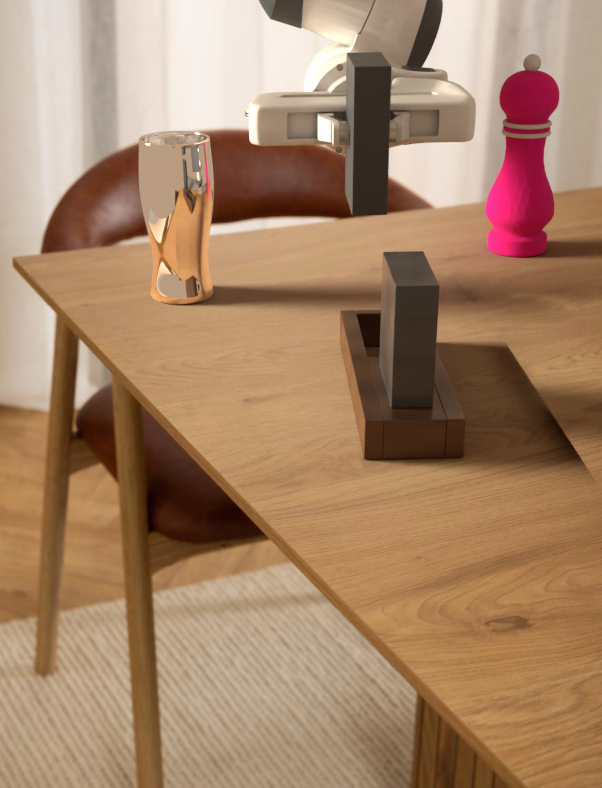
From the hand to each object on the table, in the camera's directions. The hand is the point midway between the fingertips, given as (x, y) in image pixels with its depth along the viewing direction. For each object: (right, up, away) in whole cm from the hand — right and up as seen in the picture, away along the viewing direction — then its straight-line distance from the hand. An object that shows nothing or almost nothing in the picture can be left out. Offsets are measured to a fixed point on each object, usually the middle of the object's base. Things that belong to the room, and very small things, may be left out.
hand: (368, 135), depth 100 cm
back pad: (0, -5, +4) cm, 6 cm away
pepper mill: (+18, -4, +28) cm, 34 cm away
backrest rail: (+2, -22, -7) cm, 23 cm away
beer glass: (-17, -11, +16) cm, 26 cm away
